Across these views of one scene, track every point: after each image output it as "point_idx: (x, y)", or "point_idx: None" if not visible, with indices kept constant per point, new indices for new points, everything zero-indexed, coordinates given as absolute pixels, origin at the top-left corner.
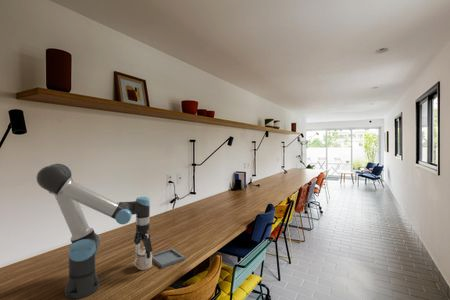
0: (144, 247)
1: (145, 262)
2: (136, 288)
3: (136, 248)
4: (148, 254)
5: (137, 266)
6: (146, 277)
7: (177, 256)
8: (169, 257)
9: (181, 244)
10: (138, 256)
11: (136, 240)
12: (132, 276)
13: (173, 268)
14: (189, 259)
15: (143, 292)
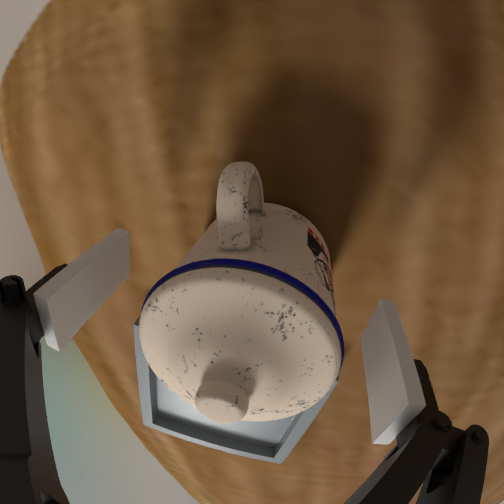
0: (217, 410)
1: (112, 234)
2: (58, 55)
3: (395, 364)
4: (33, 295)
5: (275, 209)
6: (108, 166)
7: (197, 425)
8: None
9: (297, 484)
10: (233, 257)
11: (410, 480)
12: (198, 96)
13: (104, 335)
14: (141, 417)
15: (17, 75)
